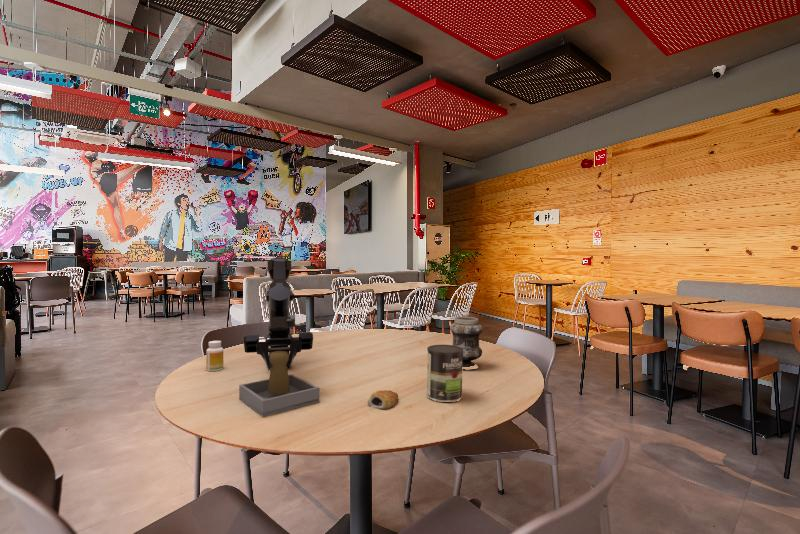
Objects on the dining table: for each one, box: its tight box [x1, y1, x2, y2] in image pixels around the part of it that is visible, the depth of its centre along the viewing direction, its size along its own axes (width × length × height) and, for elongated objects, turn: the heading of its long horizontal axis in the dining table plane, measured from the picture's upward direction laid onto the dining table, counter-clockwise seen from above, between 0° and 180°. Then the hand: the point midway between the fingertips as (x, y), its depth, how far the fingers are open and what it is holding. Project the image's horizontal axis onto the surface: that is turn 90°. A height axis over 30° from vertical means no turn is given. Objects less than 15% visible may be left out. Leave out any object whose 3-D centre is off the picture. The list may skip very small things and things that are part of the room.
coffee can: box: [426, 344, 463, 403], centre depth 117 cm, size 10×10×14 cm
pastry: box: [366, 389, 399, 410], centre depth 111 cm, size 9×7×4 cm
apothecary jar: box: [449, 316, 484, 367], centre depth 148 cm, size 12×12×18 cm
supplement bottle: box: [205, 340, 224, 372], centre depth 141 cm, size 5×5×10 cm
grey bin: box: [238, 373, 320, 418], centre depth 112 cm, size 16×16×4 cm
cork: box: [267, 351, 290, 395], centre depth 112 cm, size 6×6×11 cm
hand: (279, 368), depth 111 cm, fingers closed on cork, 5 cm apart
